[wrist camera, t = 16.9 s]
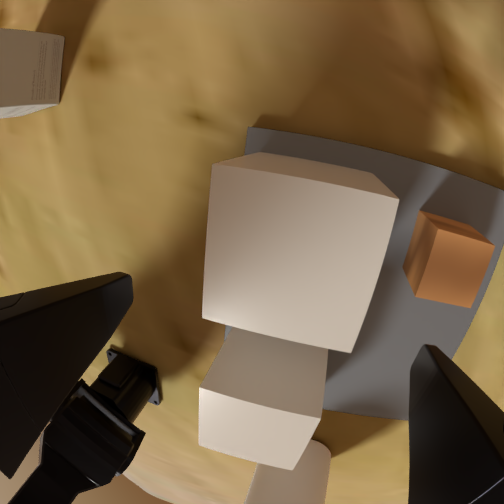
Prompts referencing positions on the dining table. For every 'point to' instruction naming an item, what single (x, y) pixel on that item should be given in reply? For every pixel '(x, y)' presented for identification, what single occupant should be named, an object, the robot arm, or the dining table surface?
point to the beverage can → (293, 479)
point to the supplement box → (29, 71)
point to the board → (396, 272)
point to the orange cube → (446, 260)
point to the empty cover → (262, 398)
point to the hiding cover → (294, 247)
